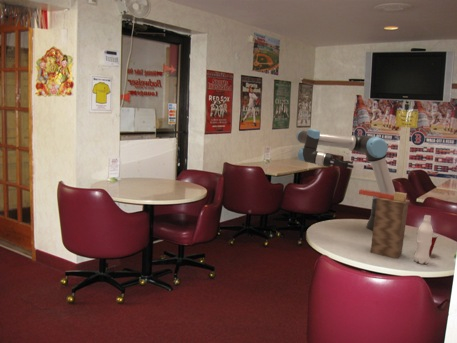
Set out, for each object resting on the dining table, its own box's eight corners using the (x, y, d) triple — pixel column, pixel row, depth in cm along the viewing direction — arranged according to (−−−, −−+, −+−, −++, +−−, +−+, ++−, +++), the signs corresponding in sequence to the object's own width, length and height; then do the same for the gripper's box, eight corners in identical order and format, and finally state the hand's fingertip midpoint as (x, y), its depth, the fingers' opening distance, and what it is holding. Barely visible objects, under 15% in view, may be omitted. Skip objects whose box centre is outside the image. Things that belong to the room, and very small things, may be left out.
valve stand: (369, 252, 248) (375, 198, 244) (375, 247, 257) (381, 195, 253) (397, 259, 240) (404, 203, 235) (402, 254, 249) (409, 200, 244)
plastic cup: (431, 252, 256) (434, 231, 254) (438, 258, 245) (441, 237, 243) (411, 250, 257) (414, 229, 255) (417, 256, 246) (420, 235, 244)
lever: (358, 194, 252) (359, 187, 251) (361, 193, 256) (362, 186, 255) (403, 202, 239) (404, 194, 238) (405, 200, 243) (406, 193, 242)
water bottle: (419, 264, 233) (425, 217, 229) (410, 260, 240) (417, 213, 236) (431, 264, 235) (438, 217, 231) (423, 260, 242) (429, 214, 238)
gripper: (328, 165, 275) (363, 173, 266) (317, 166, 252) (356, 175, 244) (331, 153, 274) (366, 160, 265) (320, 153, 251) (359, 161, 243)
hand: (361, 167), depth 254 cm, fingers open, 13 cm apart
